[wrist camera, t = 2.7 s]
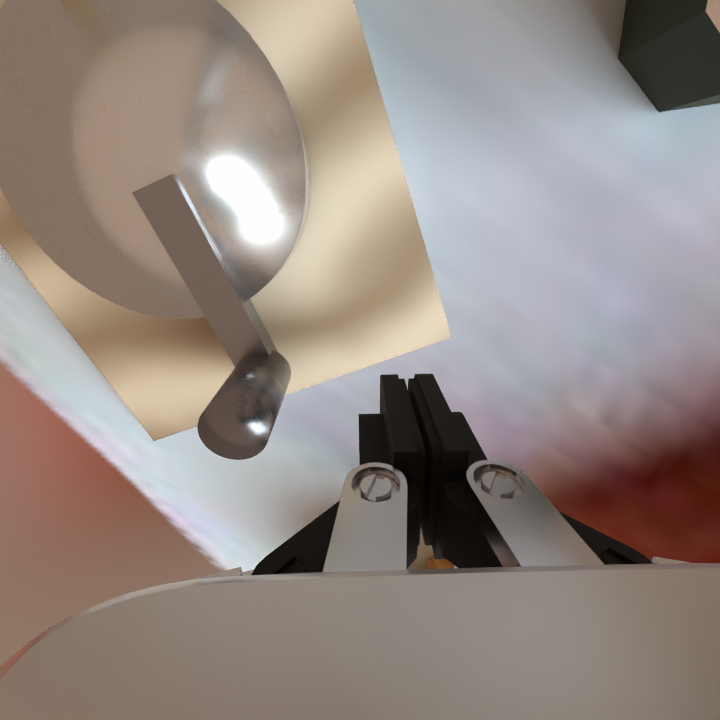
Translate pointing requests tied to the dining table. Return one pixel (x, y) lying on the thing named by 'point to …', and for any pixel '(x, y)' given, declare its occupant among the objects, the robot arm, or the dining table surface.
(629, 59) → the wine bottle
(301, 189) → the silver rounded piece
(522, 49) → the dining table surface
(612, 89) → the dining table surface
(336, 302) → the stand board
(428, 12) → the dining table surface
